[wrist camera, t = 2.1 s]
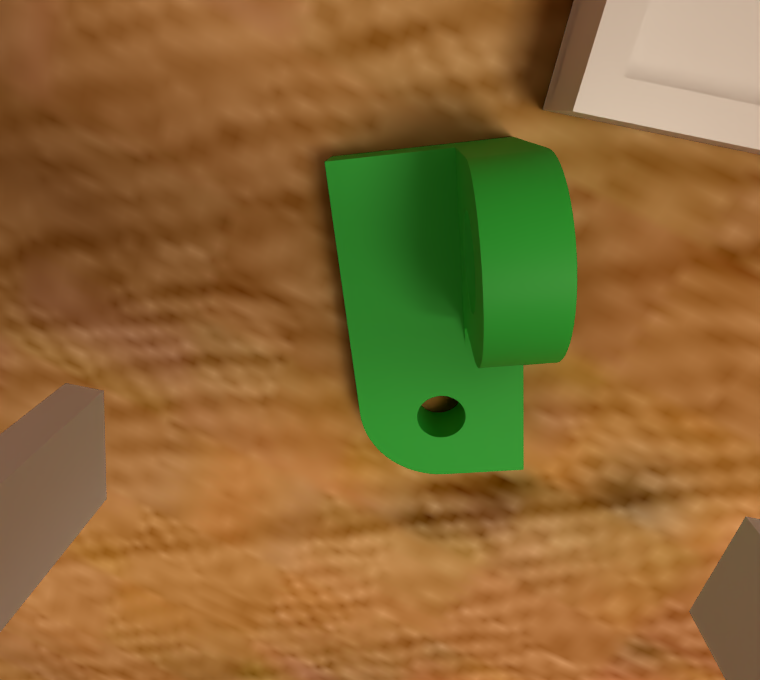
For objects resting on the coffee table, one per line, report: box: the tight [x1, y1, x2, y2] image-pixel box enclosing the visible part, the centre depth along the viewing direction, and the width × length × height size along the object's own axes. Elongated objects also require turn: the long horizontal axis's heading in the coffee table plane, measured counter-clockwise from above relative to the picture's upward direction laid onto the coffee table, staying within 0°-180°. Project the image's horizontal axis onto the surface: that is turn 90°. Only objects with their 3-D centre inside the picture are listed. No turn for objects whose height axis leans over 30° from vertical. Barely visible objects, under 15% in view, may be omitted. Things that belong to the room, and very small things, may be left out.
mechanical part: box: [325, 137, 577, 474], centre depth 17 cm, size 12×6×8 cm, turn 6°
